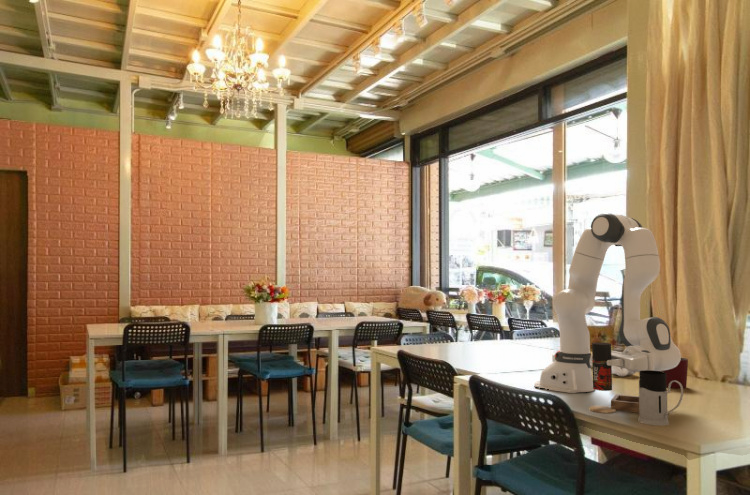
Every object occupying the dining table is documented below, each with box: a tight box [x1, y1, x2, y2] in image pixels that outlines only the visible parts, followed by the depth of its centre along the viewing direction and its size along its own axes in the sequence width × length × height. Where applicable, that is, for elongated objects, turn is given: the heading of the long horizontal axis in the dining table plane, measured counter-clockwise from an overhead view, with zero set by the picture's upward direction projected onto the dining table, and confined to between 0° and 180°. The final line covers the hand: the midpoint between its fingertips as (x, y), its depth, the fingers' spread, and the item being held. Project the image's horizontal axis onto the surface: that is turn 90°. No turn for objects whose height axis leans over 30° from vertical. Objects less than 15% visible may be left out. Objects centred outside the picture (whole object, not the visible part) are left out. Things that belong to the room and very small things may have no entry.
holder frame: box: [610, 393, 639, 414], centre depth 199 cm, size 11×11×3 cm
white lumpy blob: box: [612, 366, 637, 377], centre depth 260 cm, size 11×12×9 cm
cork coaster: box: [589, 405, 616, 414], centre depth 196 cm, size 8×8×1 cm
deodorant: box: [591, 341, 613, 392], centre depth 197 cm, size 6×6×15 cm
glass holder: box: [637, 370, 684, 426], centre depth 180 cm, size 9×14×15 cm, turn 28°
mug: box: [663, 357, 689, 390], centre depth 234 cm, size 12×9×11 cm
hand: (599, 360), depth 196 cm, fingers closed on deodorant, 6 cm apart
